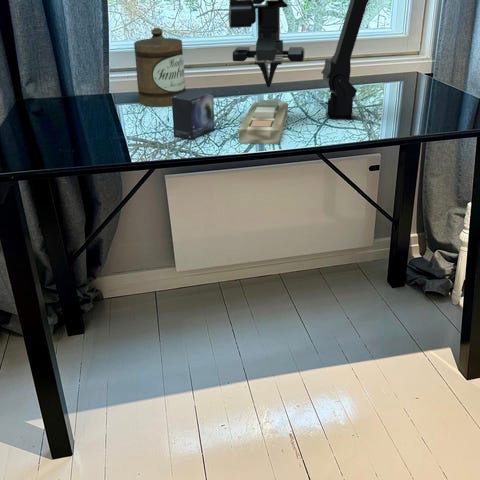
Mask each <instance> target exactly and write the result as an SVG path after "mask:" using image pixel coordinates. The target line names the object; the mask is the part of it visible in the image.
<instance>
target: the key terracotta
mask: <svg viewBox="0 0 480 480" xmlns="http://www.w3.org/2000/svg"><path fill="white" fill-rule="evenodd" d="M251 126H252V127H272V121H260V120H253V122H252V124H251Z"/></svg>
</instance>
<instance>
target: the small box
mask: <svg viewBox="0 0 480 480" xmlns="http://www.w3.org/2000/svg"><path fill="white" fill-rule="evenodd" d="M171 99H172V106H171V110H172V113H171V114H172V124H173V125H172V127H173V136H174V137H176V138H183V139H187V140H194V139H196V138H198V137H201V136H204V135H205V134H208V133H210V132H212V131H214V130H215V108H214V107H215V106H214V105H215V104H214V103H215V102H214V91H211V90H206V89H200V88H193V89H189V90H186V92H184V93H181V94H178V95H175V96H172V97H171Z"/></svg>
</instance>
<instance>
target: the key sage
mask: <svg viewBox="0 0 480 480" xmlns="http://www.w3.org/2000/svg"><path fill="white" fill-rule="evenodd" d="M278 103H279V100H277V99H260V100H259V104H258V107H275V111H278Z"/></svg>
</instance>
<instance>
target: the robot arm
mask: <svg viewBox="0 0 480 480" xmlns="http://www.w3.org/2000/svg"><path fill="white" fill-rule="evenodd" d="M264 2H265V3H264ZM369 2H370V0H349V2H348V3H349V4H348V7H347V11H346V15H345V17H344V21H343V23H342V27H341V31H340V34H339V37H338V42H337V45H336V48H335V52H334V54H333V55H332V57H331V58H330V59H329V58H325V60H324V67H323V70H322V71H320V72H321V74H322V80H323V83H324V84H325V85H326V86H328V88H329V91H330V96H329V98H328V99H327V116H328V119H333V120H334V119H335V120H337V119H338V120H353V108H354V107H353V106H354V98H355V96H356V95H357V92H358V89H356V88H355V87H354V85H353V84H352V83H351V82H350V78H351V70H352V69H351V66H352V65H351V58H352V56H353V55H352V54H353V52H354V47H355V45H356V41H357V37H358V35H359V32H360V28H361V25H362V21H363V19H364V15H365V11H366V9H367V6H368V3H369ZM263 3H264V4H263ZM288 7H289V5H288V4H287V3H286V2H285V1H284V0H229V6H228V12H227V13H228V15H227V16H228V26H229V27H228V28H229V29H237V28H252V26H253V25H254V24H256V22H257V40H256V43H255V45H256V46H255V50H252V49H251V48H250V47H249V46H237V47H236V48H235V49H234V50H233V51H232V61H233V62H245V61H246V60H247V59H249V58H250V59H251V58H253V59H254V62H253V65H257V66H258V67H259V69H260V71H261V73H262V76H263V78H264V79H263V80H264V82H265V84H266V87H267V88H271V87H272V82H273V79H274V76H275V73H276V70H277V67H278V66H280V65H282V64H283V62H284V59H285V58H286V59H288V60H289V61H290V62H292V63H293V62H295V63H296V62H297V63H298V62H300V63H301V62H304V59H305V52H306V51H305V50H306V49H305V48H304V47H303V46H290V47H289V48H288V49H287V50H284V41H283V39H281V36H280V35H281V34H280V31H281V30H280V29H281V28H280V25H281V23H280V22H281V17H280V16H281V15H280V14H281V12H280V11H281V9H280V8H282V9H283V8H288ZM256 9H257V10H256ZM268 62H270V63H268Z"/></svg>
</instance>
